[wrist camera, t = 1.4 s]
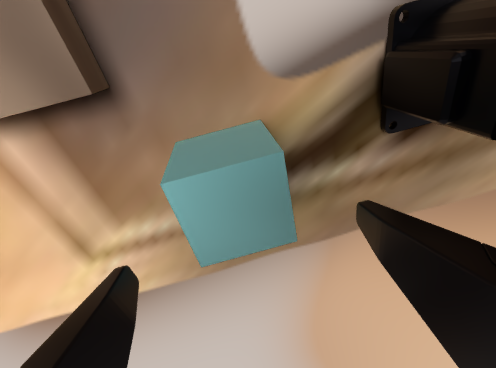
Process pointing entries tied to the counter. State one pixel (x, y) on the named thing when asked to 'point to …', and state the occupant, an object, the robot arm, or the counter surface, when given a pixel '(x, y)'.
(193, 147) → the teal block
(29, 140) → the counter surface
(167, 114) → the counter surface
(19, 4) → the walnut base
